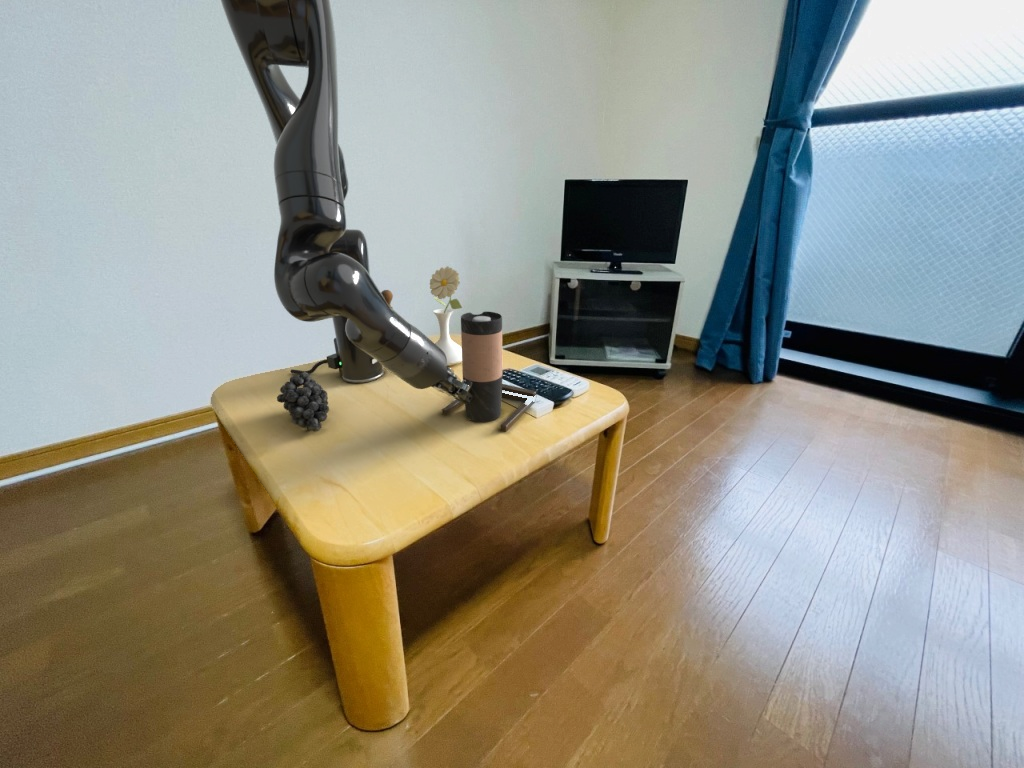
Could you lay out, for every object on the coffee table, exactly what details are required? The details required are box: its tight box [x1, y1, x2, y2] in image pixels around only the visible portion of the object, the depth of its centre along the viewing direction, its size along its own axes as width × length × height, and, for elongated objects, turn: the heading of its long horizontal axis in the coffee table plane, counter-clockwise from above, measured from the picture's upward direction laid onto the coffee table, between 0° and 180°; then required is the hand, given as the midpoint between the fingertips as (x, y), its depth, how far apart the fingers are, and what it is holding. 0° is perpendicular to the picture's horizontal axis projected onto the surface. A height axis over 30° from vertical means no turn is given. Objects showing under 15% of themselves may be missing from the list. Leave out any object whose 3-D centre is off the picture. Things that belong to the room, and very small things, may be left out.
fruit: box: [276, 372, 330, 432], centre depth 73 cm, size 9×8×15 cm
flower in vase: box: [429, 265, 463, 367], centre depth 99 cm, size 13×11×25 cm
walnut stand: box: [441, 383, 537, 433], centre depth 81 cm, size 14×14×2 cm
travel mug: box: [460, 311, 503, 423], centre depth 75 cm, size 8×8×20 cm
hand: (467, 399), depth 74 cm, fingers closed
